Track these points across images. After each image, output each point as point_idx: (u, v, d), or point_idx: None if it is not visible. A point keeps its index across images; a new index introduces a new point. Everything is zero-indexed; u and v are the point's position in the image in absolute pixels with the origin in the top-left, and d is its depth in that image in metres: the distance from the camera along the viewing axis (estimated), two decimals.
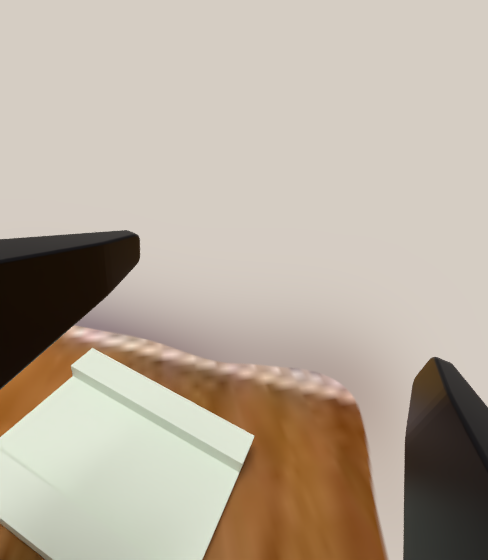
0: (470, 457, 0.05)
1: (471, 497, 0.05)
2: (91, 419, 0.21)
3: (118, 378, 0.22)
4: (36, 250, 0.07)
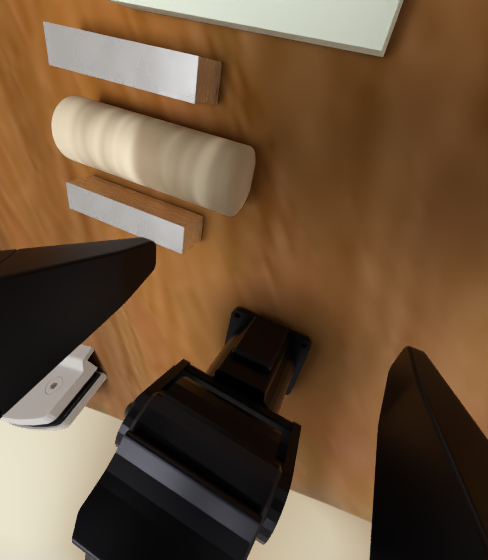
0: (430, 438, 0.05)
1: (429, 476, 0.05)
2: None
3: None
4: (57, 260, 0.07)
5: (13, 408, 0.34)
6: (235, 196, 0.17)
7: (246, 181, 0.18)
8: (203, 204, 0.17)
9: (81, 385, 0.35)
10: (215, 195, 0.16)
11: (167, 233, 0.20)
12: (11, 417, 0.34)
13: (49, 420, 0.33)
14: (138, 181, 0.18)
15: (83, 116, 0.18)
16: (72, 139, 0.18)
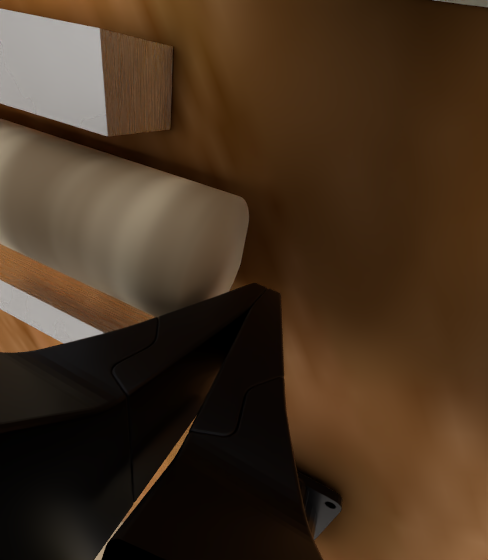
0: None
1: None
2: None
3: None
4: (202, 329, 0.06)
5: None
6: (205, 292, 0.08)
7: (229, 264, 0.09)
8: (134, 304, 0.08)
9: None
10: (159, 288, 0.07)
11: None
12: None
13: None
14: (12, 247, 0.09)
15: None
16: None
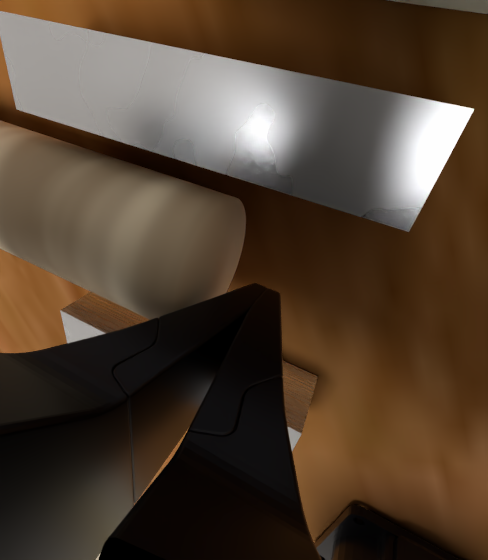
0: None
1: None
2: None
3: None
4: (203, 329, 0.06)
5: None
6: (201, 294, 0.08)
7: (226, 266, 0.09)
8: (129, 306, 0.08)
9: None
10: (153, 290, 0.07)
11: None
12: None
13: None
14: (6, 248, 0.09)
15: None
16: None
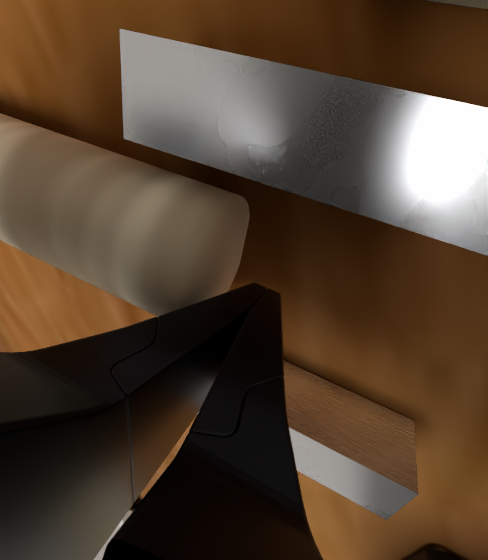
0: None
1: None
2: None
3: None
4: (202, 328, 0.06)
5: None
6: (205, 291, 0.08)
7: (229, 263, 0.09)
8: (134, 302, 0.08)
9: None
10: (159, 286, 0.07)
11: (362, 484, 0.09)
12: None
13: None
14: (11, 243, 0.09)
15: None
16: None
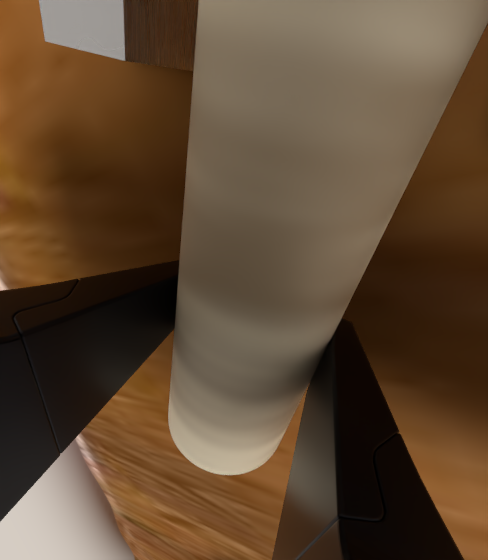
0: (328, 390, 0.06)
1: (322, 422, 0.05)
2: None
3: None
4: (120, 290, 0.06)
5: None
6: None
7: None
8: (446, 16, 0.03)
9: None
10: None
11: None
12: None
13: None
14: (313, 328, 0.06)
15: (174, 393, 0.08)
16: (208, 440, 0.08)
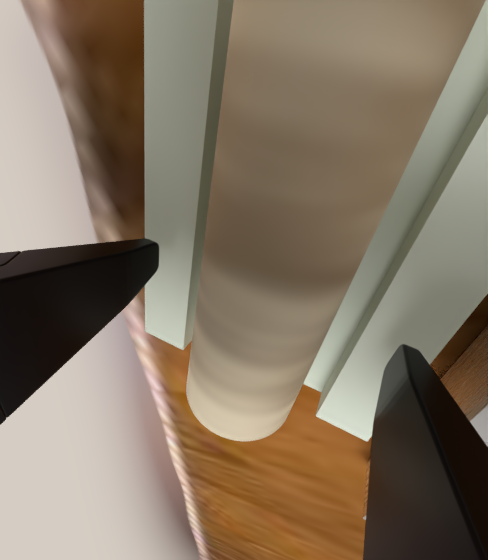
0: (423, 435, 0.05)
1: (421, 472, 0.05)
2: None
3: (169, 275, 0.11)
4: (61, 262, 0.07)
5: None
6: None
7: None
8: (429, 39, 0.04)
9: None
10: None
11: None
12: None
13: None
14: (321, 299, 0.07)
15: (195, 365, 0.09)
16: (225, 406, 0.09)
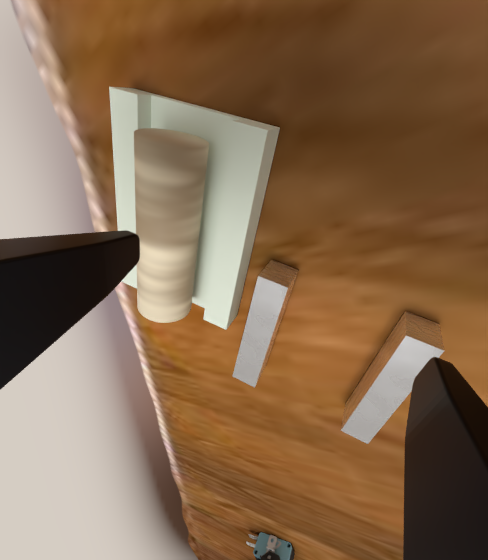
0: (470, 457, 0.05)
1: (471, 497, 0.05)
2: None
3: None
4: (36, 250, 0.07)
5: None
6: (179, 141, 0.16)
7: (182, 136, 0.17)
8: (178, 176, 0.16)
9: None
10: (157, 155, 0.15)
11: (411, 357, 0.17)
12: None
13: None
14: (175, 251, 0.19)
15: (137, 285, 0.21)
16: (149, 302, 0.21)
